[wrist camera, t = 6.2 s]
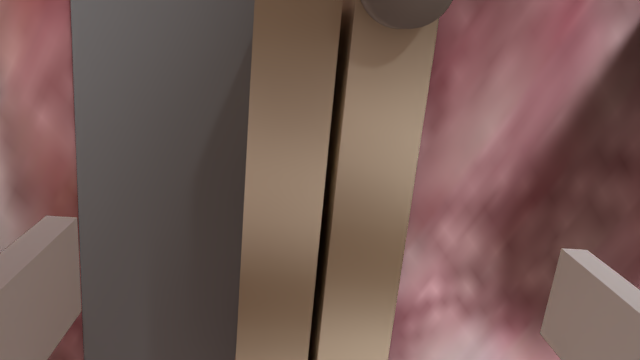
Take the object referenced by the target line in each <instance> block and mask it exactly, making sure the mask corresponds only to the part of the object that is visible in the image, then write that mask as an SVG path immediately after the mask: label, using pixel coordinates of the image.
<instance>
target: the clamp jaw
mask: <svg viewBox="0 0 640 360" xmlns="http://www.w3.org/2000/svg"><path fill="white" fill-rule="evenodd" d="M342 4H343V1H340V0H255V4H254V23H253V42H252V61H251V80H250V98H249V117H248V136H247V155H246V174H245V193H244V212H243V231H242V250H241V268H240V287H239V306H238V325H237V344H236V356H235V360H308V352H309V342H310V332H311V322H312V311H313V301H314V291H315V281H316V270H317V260H318V250H319V240H320V229H321V219H322V209H323V198H324V188H325V178H326V168H327V157H328V147H329V137H330V127H331V116H332V106H333V96H334V86H335V75H336V65H337V55H338V45H339V34H340V24H341V14H342Z"/></svg>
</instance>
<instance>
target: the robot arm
mask: <svg viewBox="0 0 640 360" xmlns="http://www.w3.org/2000/svg"><path fill="white" fill-rule="evenodd" d="M80 313H81V290H80V268H79V246H78V224H77V217H61V216H45V217H44V218H43V219H42V220H40V221H39V222H38V223H37V224H35V225H34V226H33V227H32V228H30V229H29V230H28V231H27V232H26V233H24V234H23V235H22V236H21V237H19V238H18V239H17V240H16V241H14V242H13V243H12V244H11V245H9V246H8V247H7V248H6V249H5V250H3V251H2V252H1V253H0V360H47V359H48V358H49V357H50V355H51V354H52V352H53V351H54V350H55V348H56V347H57V345H58V344H59V342H60V341H61V340H62V338H63V337H64V335H65V334H66V333H67V331H68V330H69V328H70V327H71V325H72V324H73V323H74V321H75V320H76V318H77V317H78V316H79V314H80ZM540 334H541V335H542V337H543V338H544V339H545V340H546V342H547V343H548V344H549V345H550V347H551V348H552V349H553V350H554V351H555V353H556V354H557V355H558V356H559V358H560V359H561V360H640V290H639V289H638V288H637V287H635V286H634V285H633V284H631V283H630V282H629V281H627V280H626V279H625V278H623V277H622V276H621V275H619V274H618V273H617V272H616V271H614V270H613V269H612V268H610V267H609V266H608V265H606V264H605V263H604V262H602V261H601V260H600V259H598V258H597V257H596V256H595V255H593V254H592V253H591V252H589V251H588V250H581V249H565V248H561V251H560V255H559V259H558V263H557V267H556V271H555V275H554V279H553V283H552V287H551V291H550V295H549V299H548V303H547V307H546V311H545V315H544V319H543V323H542V327H541V331H540Z"/></svg>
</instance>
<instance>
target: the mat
mask: <svg viewBox="0 0 640 360" xmlns="http://www.w3.org/2000/svg"><path fill="white" fill-rule="evenodd" d="M254 4H255V0H71V27H72V53H73V80H74V106H75V133H76V159H77V186H78V213H79V239H80V266H81V292H82V319H83V345H84V360H235V356H236V344H237V325H238V306H239V287H240V268H241V250H242V231H243V212H244V193H245V174H246V155H247V136H248V117H249V98H250V80H251V61H252V42H253V23H254Z"/></svg>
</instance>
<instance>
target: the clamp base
mask: <svg viewBox="0 0 640 360" xmlns="http://www.w3.org/2000/svg"><path fill="white" fill-rule="evenodd" d="M340 1H343V4H342V14H341V24H340V34H339V45H338V55H337V65H336V75H335V86H334V96H333V106H332V116H331V127H330V137H329V147H328V157H327V168H326V178H325V188H324V198H323V209H322V219H321V229H320V240H319V250H318V260H317V270H316V281H315V291H314V301H313V311H312V322H311V332H310V342H309V352H308V360H388V355H389V349H390V342H391V335H392V329H393V322H394V315H395V309H396V302H397V295H398V289H399V282H400V275H401V269H402V262H403V255H404V249H405V242H406V235H407V229H408V222H409V215H410V209H411V202H412V195H413V189H414V182H415V175H416V169H417V162H418V155H419V149H420V142H421V135H422V129H423V122H424V115H425V109H426V102H427V95H428V89H429V82H430V75H431V69H432V62H433V55H434V49H435V42H436V35H437V29H438V22H439V17H440V16H441V15H443V14H444V12H445V11H446V10H447V9H448V7H449V6H450V4H451V3H452V0H340Z"/></svg>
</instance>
